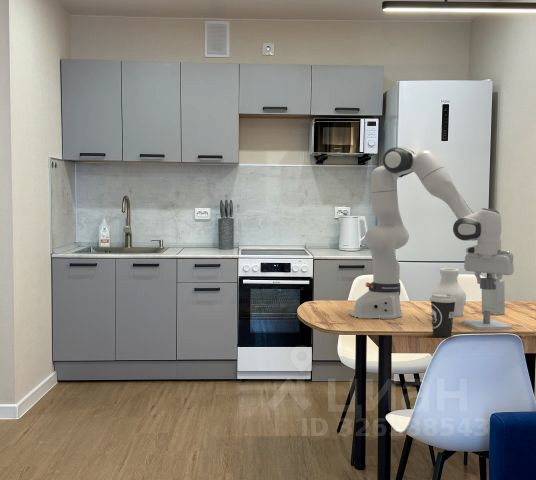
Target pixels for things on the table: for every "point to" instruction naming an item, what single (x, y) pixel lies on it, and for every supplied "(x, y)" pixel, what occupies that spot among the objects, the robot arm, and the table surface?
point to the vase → (452, 289)
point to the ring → (487, 283)
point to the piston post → (486, 323)
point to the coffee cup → (442, 313)
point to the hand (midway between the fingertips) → (488, 284)
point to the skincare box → (494, 300)
